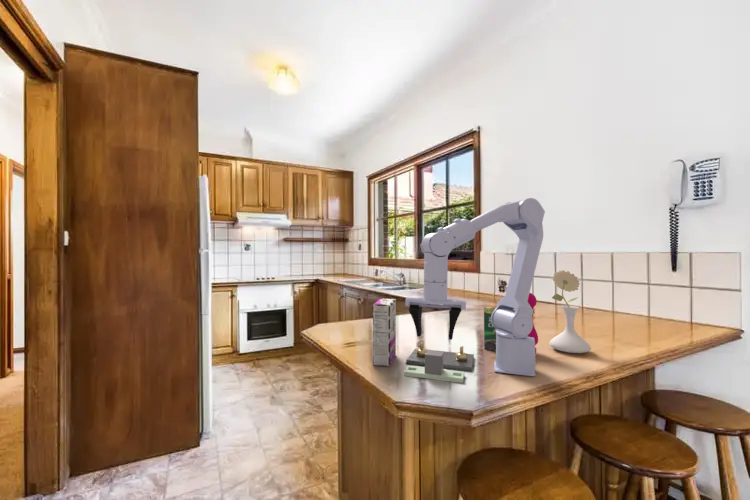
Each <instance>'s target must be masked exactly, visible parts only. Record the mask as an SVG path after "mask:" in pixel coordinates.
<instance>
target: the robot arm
mask: <svg viewBox="0 0 750 500" xmlns="http://www.w3.org/2000/svg"><path fill="white" fill-rule="evenodd" d="M545 211H546V210H545V209H544V208H543V205H541V203H540V202H539V200H537V199H536V198H534V197H529V198H525V199H521V200H517V201H513V202H509V201H508V202H506V203H504V204H499V205H497V206H495V207H492V208H491V209H489V210H487V211H485V212H483V213H481V214H480V215H478V216H476V217H474V218H472V219H471V220H469V219H466V218H459V217H458V218H455V219H454V220H453V223H451V224H449V225H446V226H445V227H443V226H440V227H438V228H437V232H431V233H428V234H426V235H425V236H424V237H423V239H422V241H421V243H420V244H419V245H420V249H421V252H422V253H423V254H424V257H423V259H424V260H423V261H424V262H423V297H406V298H405V300H404V301H405V303H404V304H405V307H409V308H408V311H409V314H410V316H411V318H412V321H413V324H414V326H415V331H416V337H419V338H420V337H421V336H422V333H423V331H422V314H423V308H437V309H449V311H448V314H449V315H448V317H449V328H448V329H449V330H448V340H450V341H451V340H453V337H454V331H455V327H456V324H457V321H458V319H459V316H460V315H461V312H462V311H466V310H467V301H466V300H459V299H451V298H450V299H449V298H448V277H449V276H448V275H449V274H448V272H449V271H448V268H449V266H448V265H449V264H448V263H449V261H448V260H449V259H448V257H449V254H450V253H451V252H452V251H453V250H454V249H456V248H458V247H460V246H462V245H464V244H465V243H468V242H469V241H472V240H473V239H475V237H476V233H477V232H479V231H481V230H483V229H485V228H488V227H491V226H492V225H495V224H497V223H503V224H504V225H505V226H506V227H507V228H509V229H510V231H513V233H514V234H516V236H517V238H518V244H517V249H516V252H515V256H514V260H513V264H512V267H511V273H510V276H509V279H508V283H507V286H506V291H505V295H504V296H503V297H502V298H500V299H499V300H498V302H497V305H496V307H495V308H496V309H495V310H494V311H493V313H492V315H491V322H492V325H493V326H494V327H495V332H496V351H495V360H494V362H493V368H494V369H493V370H494V371H493V372H495V373H500V374H501V373H502V374H509V375H510V374H511V375H512V374H513V375H517V376H518V375H519V376H525V377H536V365H537V363H536V355H535V348H536V345H535V340H534V338H533V337H528V335H529V333H530V332H531V330H532V327H533V324H534V320H533V321H532V314H533V309H534V308H533V309H532V308H531V306H530V305H529V303H528V297H529V293H531V287H532V284H533V281H534V276H535V271H536V268H537V264H538V260H539V256H540V253H541V252H540V251H541V247H542V245H543V239H544V226H543V221H544V217H545V213H546V212H545ZM533 315H534V314H533Z"/></svg>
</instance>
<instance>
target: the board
mask: <svg viewBox="0 0 750 500" xmlns="http://www.w3.org/2000/svg"><path fill="white" fill-rule="evenodd" d="M427 350H428V351H427V352H426V354H425V366H421V365H412V364H407V366H406V368H405V369H404V370H403V376H405V377H414V378H419V379H420V378H422V379H429V380H437V381H444V382H445V381H446V382H453V383H459V384H463V383H464V378H465V371H463V370H455V369H446V368H444V352H441V351H442V350H436V351H431V350H432V349H427Z"/></svg>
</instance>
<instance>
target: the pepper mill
mask: <svg viewBox="0 0 750 500" xmlns="http://www.w3.org/2000/svg"><path fill="white" fill-rule="evenodd" d="M537 301H538V300H537V297H536V295H535V294H534V293H532V292H530V293H529V297H528V303H529V305H530V306H531V308H532V309H533V314H532V321H533V322H534V319H533V318H534V314H536V313H535V310H536V309H535V306H536V305H537ZM538 335H539V334H538V332H537V330H536V327H535V325H534V323H533V327H532V330H531V332H530V333H529V335H528V337H533V338H534V340H535V346H536V345H537V344H538V343H539V336H538ZM536 355H537V347H535V356H536Z"/></svg>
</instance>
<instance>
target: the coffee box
mask: <svg viewBox="0 0 750 500" xmlns="http://www.w3.org/2000/svg"><path fill="white" fill-rule="evenodd" d="M495 309H496V307H489V306H485V307H484V308H483V334H484V335H483V340H484V341H483V342H484V346H483V347H484V348H483V349H484V350H487V351H495V352H496V332H495V327H494V326H493V325H492V322H491V315H492V313H493V311H494V310H495Z"/></svg>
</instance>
